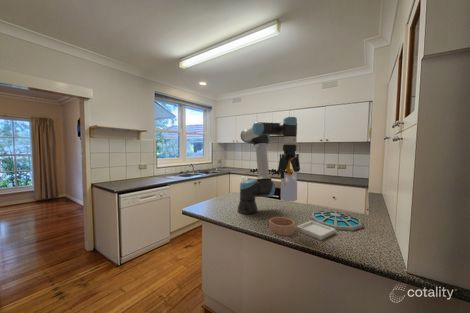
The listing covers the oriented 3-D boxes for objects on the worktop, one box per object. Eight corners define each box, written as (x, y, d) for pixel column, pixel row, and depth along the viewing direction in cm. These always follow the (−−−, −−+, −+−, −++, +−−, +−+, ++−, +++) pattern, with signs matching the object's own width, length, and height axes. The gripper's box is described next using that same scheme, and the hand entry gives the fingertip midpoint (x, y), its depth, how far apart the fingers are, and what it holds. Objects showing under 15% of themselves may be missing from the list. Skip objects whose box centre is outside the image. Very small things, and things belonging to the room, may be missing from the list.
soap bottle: (299, 199, 111) (300, 157, 110) (291, 202, 104) (292, 157, 103) (286, 196, 117) (286, 156, 116) (277, 199, 111) (278, 157, 110)
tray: (296, 230, 112) (296, 226, 112) (311, 224, 120) (311, 220, 120) (320, 240, 100) (320, 235, 99) (335, 233, 108) (335, 229, 108)
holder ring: (264, 228, 114) (264, 220, 114) (280, 223, 122) (280, 215, 122) (283, 237, 103) (283, 228, 102) (299, 231, 111) (299, 222, 111)
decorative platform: (303, 221, 127) (303, 213, 127) (319, 210, 148) (320, 204, 148) (356, 236, 106) (356, 227, 105) (367, 222, 126) (367, 214, 126)
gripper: (281, 143, 100) (280, 186, 101) (307, 144, 112) (306, 182, 113) (271, 144, 107) (270, 184, 107) (296, 144, 119) (295, 180, 120)
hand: (289, 183), depth 110 cm, fingers closed on soap bottle, 9 cm apart
